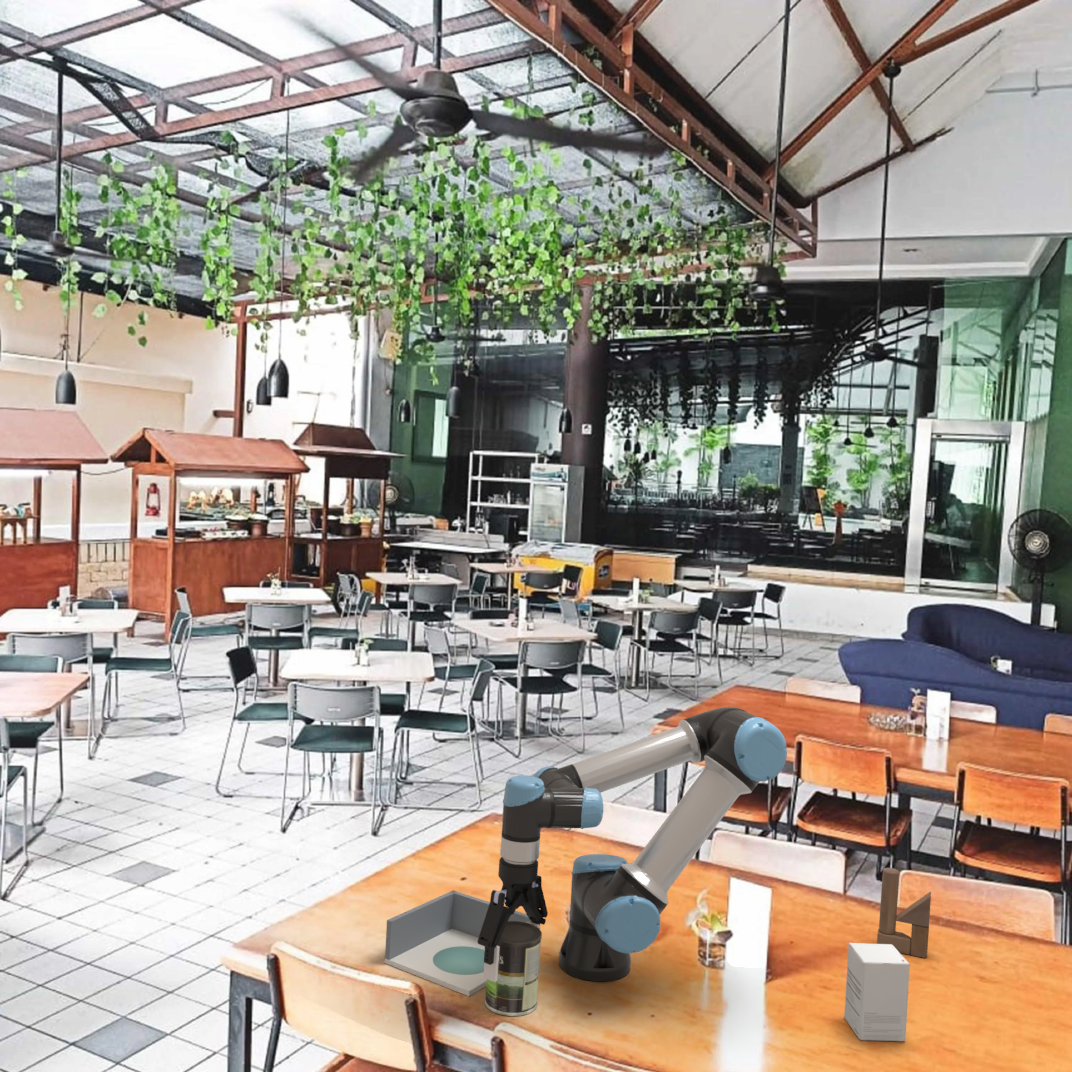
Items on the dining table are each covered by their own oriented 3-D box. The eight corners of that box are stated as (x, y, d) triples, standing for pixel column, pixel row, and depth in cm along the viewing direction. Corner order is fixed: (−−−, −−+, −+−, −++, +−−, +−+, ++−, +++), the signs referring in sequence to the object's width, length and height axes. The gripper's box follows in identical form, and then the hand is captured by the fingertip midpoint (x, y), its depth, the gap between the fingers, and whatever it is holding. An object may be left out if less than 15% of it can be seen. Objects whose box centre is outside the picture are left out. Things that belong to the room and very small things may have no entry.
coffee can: (497, 1020, 190) (501, 946, 189) (476, 995, 199) (480, 924, 198) (546, 1011, 194) (550, 939, 194) (524, 987, 203) (528, 918, 203)
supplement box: (888, 1018, 199) (893, 943, 199) (906, 1042, 190) (911, 963, 190) (842, 1016, 199) (847, 941, 198) (858, 1040, 190) (863, 961, 189)
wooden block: (926, 959, 227) (932, 879, 227) (876, 949, 231) (881, 870, 231) (927, 952, 231) (932, 874, 230) (877, 942, 235) (882, 866, 234)
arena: (531, 958, 217) (534, 916, 216) (468, 996, 198) (471, 950, 198) (451, 929, 229) (453, 890, 229) (384, 963, 210) (387, 920, 210)
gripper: (538, 839, 208) (531, 941, 208) (463, 869, 187) (455, 983, 188) (569, 847, 204) (561, 952, 204) (496, 880, 183) (488, 996, 184)
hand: (511, 967), depth 196 cm, fingers open, 13 cm apart
